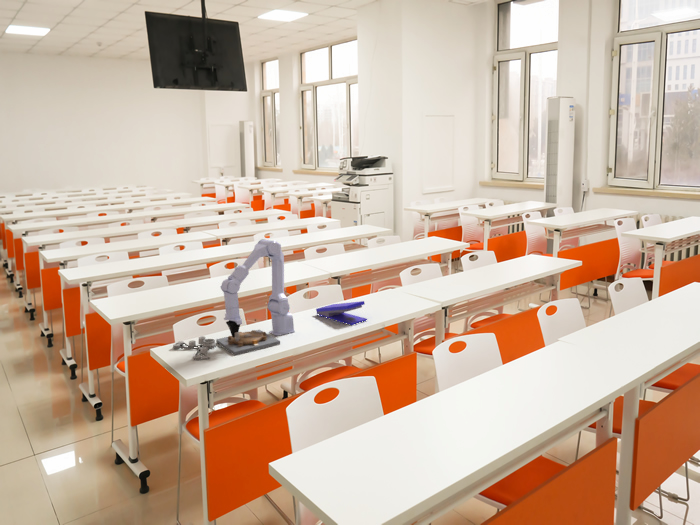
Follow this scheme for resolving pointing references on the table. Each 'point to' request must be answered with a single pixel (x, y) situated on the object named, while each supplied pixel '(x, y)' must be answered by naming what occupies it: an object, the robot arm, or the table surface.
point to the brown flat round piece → (247, 338)
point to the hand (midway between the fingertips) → (235, 336)
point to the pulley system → (204, 350)
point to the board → (248, 348)
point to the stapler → (342, 312)
